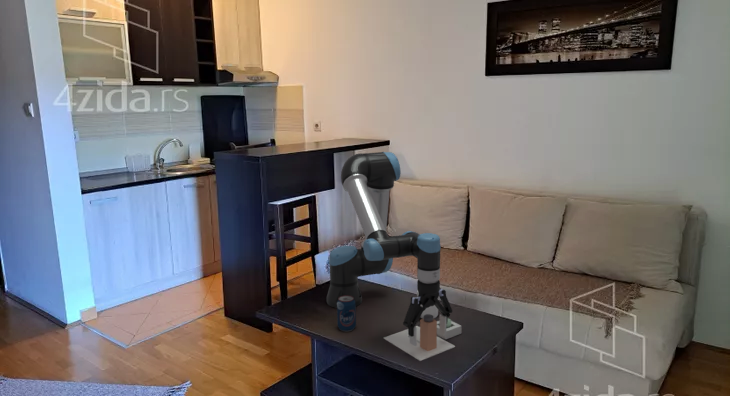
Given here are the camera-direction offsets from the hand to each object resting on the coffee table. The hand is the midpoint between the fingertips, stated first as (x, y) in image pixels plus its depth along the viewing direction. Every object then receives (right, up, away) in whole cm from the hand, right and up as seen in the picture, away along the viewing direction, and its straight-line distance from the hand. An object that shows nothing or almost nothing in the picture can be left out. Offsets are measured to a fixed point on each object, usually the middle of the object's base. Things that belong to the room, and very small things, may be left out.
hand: (428, 338), depth 173 cm
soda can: (-29, -1, +17) cm, 33 cm away
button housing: (+8, -1, +12) cm, 14 cm away
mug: (+2, +1, +26) cm, 26 cm away
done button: (+8, +1, +12) cm, 14 cm away
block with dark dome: (0, -3, +1) cm, 3 cm away
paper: (-3, -3, +5) cm, 6 cm away
